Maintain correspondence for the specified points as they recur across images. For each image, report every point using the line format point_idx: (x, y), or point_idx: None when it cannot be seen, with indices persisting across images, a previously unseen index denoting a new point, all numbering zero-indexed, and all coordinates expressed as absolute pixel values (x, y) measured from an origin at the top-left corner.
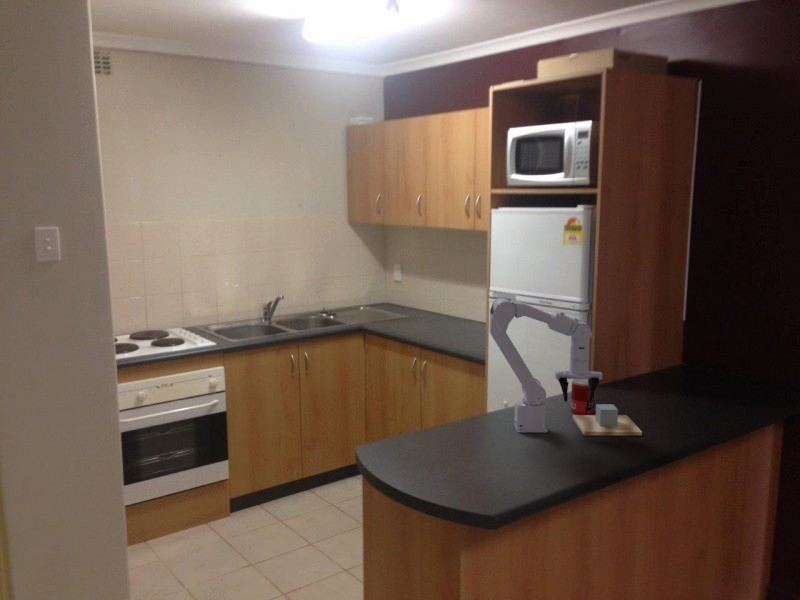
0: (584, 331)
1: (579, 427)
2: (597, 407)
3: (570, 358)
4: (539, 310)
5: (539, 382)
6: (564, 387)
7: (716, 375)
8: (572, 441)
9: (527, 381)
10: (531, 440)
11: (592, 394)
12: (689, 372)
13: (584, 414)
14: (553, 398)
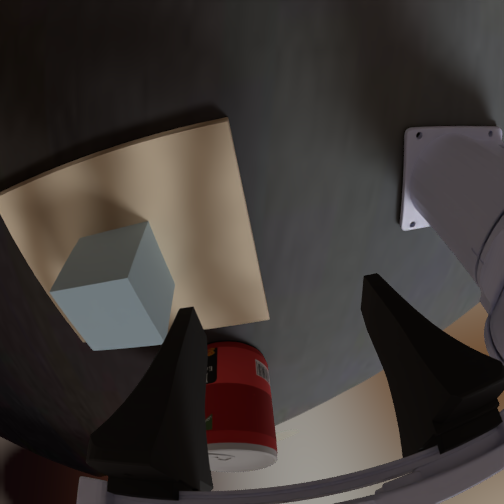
0: None
1: (247, 210)
2: (156, 320)
3: None
4: None
5: None
6: (451, 348)
7: (49, 456)
8: (296, 21)
9: None
10: (469, 42)
11: (164, 350)
12: (80, 465)
13: (222, 343)
14: (302, 410)
